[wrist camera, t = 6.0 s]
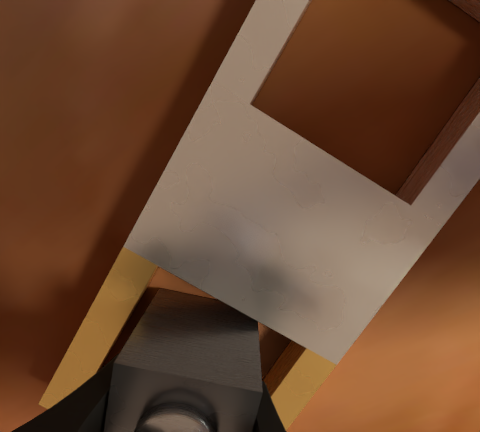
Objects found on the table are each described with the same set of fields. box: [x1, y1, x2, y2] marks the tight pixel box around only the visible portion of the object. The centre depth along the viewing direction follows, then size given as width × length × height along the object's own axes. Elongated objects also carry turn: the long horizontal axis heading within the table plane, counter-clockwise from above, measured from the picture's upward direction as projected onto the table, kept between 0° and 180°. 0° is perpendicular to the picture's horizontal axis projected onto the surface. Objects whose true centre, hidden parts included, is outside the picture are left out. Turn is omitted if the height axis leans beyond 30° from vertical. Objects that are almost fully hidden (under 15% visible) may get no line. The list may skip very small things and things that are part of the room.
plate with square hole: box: [39, 0, 480, 430], centre depth 13 cm, size 10×24×2 cm, turn 149°
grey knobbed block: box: [104, 288, 263, 432], centre depth 12 cm, size 4×4×6 cm
